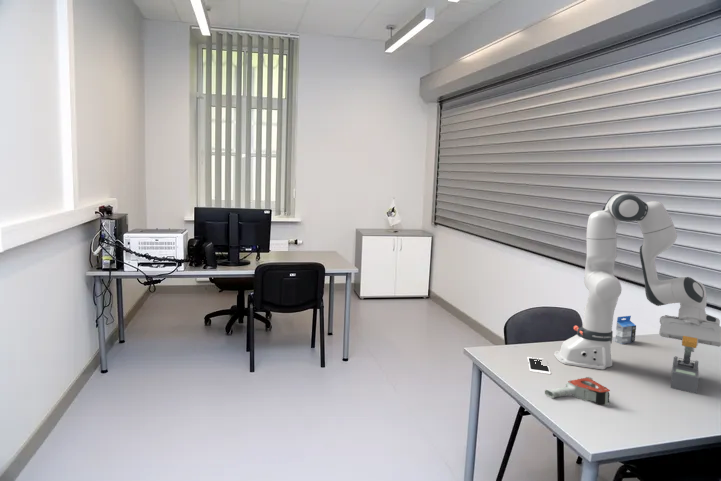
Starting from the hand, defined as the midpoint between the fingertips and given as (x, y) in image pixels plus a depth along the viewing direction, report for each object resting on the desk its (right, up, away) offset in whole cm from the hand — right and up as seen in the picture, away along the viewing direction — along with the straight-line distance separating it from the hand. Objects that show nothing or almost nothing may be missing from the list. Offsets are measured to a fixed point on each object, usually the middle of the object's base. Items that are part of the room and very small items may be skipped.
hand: (689, 350), depth 178 cm
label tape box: (+3, -7, +48) cm, 49 cm away
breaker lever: (+1, -6, +3) cm, 6 cm away
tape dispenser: (-48, -14, -12) cm, 51 cm away
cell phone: (-52, -10, +14) cm, 55 cm away
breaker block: (0, -13, +4) cm, 13 cm away
